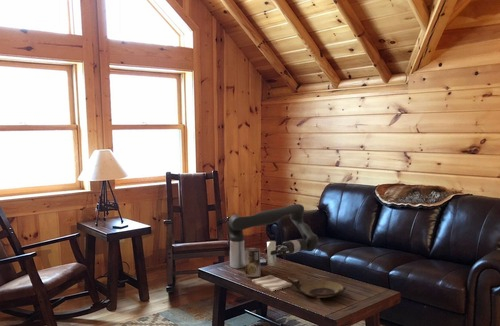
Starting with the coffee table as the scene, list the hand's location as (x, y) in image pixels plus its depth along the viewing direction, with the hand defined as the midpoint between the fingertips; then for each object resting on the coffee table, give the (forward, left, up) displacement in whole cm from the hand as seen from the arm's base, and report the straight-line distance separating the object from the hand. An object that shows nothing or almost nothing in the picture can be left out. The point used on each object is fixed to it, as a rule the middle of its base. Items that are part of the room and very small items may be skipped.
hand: (267, 252), depth 244 cm
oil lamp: (+27, +12, -19) cm, 35 cm away
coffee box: (-19, +3, -19) cm, 27 cm away
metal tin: (0, +3, -7) cm, 8 cm away
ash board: (0, +2, -19) cm, 19 cm away
